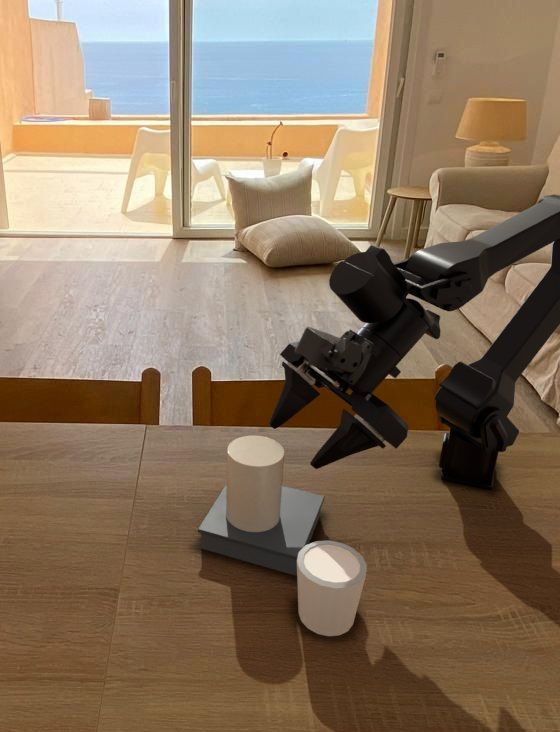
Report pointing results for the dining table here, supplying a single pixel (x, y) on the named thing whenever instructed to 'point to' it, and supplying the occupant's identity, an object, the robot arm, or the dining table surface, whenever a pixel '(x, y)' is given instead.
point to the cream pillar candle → (254, 483)
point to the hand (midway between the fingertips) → (291, 445)
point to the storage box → (265, 532)
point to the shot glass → (329, 586)
